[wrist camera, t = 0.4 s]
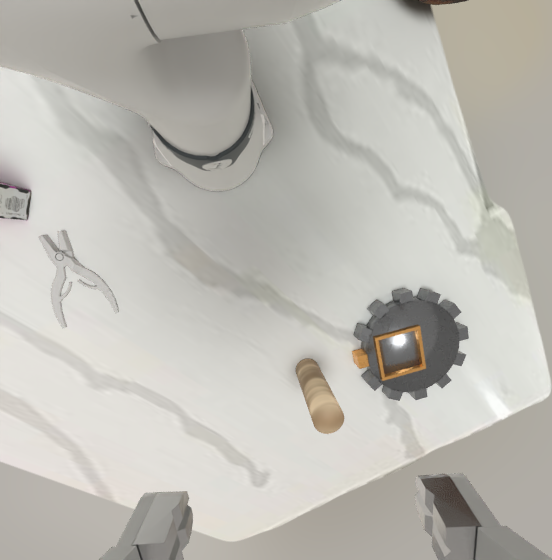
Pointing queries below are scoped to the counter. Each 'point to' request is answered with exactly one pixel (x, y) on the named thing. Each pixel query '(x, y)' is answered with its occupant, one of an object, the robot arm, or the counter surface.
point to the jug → (441, 1)
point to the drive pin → (319, 397)
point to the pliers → (68, 260)
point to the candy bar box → (14, 202)
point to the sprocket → (410, 343)
